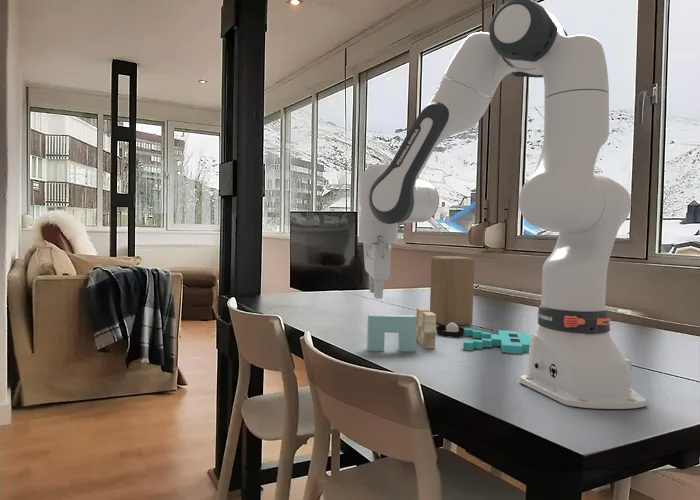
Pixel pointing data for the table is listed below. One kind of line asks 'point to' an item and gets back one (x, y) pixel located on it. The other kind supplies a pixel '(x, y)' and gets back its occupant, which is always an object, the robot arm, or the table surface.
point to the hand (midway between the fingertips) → (375, 295)
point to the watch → (450, 330)
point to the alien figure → (498, 340)
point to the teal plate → (391, 331)
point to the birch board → (426, 328)
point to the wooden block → (452, 289)
